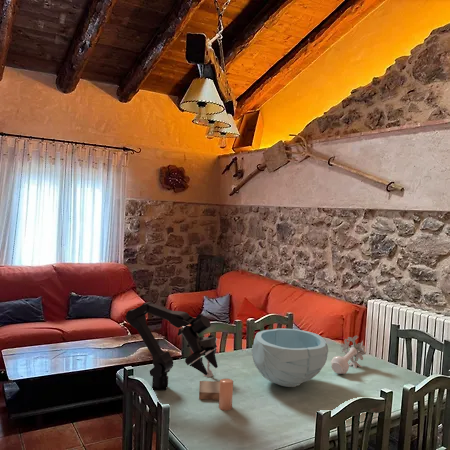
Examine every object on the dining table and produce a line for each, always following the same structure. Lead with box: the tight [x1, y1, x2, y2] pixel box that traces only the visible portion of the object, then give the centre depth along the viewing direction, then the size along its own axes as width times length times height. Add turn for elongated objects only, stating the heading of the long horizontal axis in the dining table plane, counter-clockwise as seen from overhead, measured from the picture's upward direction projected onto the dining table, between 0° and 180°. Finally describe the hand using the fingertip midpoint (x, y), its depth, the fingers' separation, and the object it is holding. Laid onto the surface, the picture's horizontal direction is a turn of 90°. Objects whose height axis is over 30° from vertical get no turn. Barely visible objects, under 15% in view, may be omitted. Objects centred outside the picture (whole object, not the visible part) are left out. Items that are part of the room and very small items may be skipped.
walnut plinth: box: [198, 380, 220, 401], centre depth 191 cm, size 12×12×3 cm
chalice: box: [202, 336, 218, 378], centre depth 212 cm, size 7×7×18 cm
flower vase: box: [330, 334, 367, 375], centre depth 229 cm, size 13×18×25 cm
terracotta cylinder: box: [218, 378, 234, 412], centre depth 178 cm, size 6×6×11 cm
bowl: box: [251, 327, 329, 388], centre depth 206 cm, size 35×35×22 cm
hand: (211, 371), depth 183 cm, fingers open, 9 cm apart
